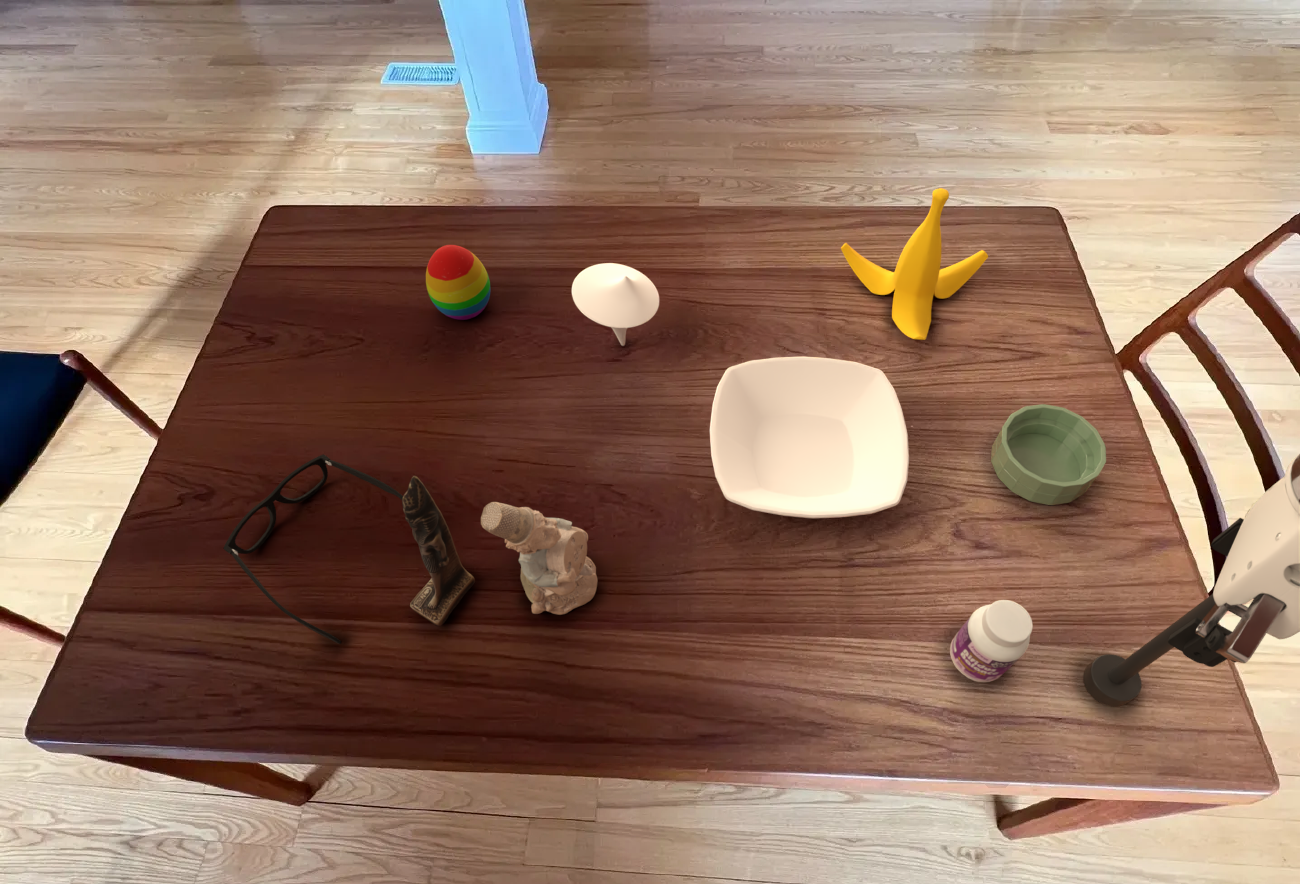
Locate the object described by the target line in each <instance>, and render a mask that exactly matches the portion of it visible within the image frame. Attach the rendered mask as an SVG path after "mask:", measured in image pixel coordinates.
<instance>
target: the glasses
mask: <svg viewBox="0 0 1300 884" xmlns="http://www.w3.org/2000/svg"><path fill="white" fill-rule="evenodd" d="M327 465H328V466H331V467H333V468H336V469H339V470H341V471H343V472H345V473H347V474H349V475H352V476H354V477H357V478H358V479H360V480H363V481H365V482H366V483H369V484H371V485H373V486H375V487H377V488H379V489H381V490H382V491H385V492H386V493H389V494H391V495H394V496H396V497H397V498H399V499H400V500H401V501H402V499H403V496H404V495H402V494H401V493H400V492H399V491H397V490H396V489H395V488H393V487H392V486H390V485H388V484H386V483H385V482H383V481H381V480H379V479H378V478H376V477H373V476H371V475H369V474H368V473H365V472H363V471H359V470H358V469H355V468H353V467H351V466H348V465H346V464H343V463H340V462H339V461H336V460H332V459H331V458H330V457H329V456H327V455H326V454H324V453H323V454H320V455H318V456H316V457H314V458H313V459H310V460H309V461H307V462H305V463H304V464H302V465H301V466H298V468H296V469H294V470H293V471H292V472H290V473H289V474H288V475H287V476H286V477H284V479H282V481H281V482H280V483H279V484H278V485H277V486H276V487H275V488H274V489H273V491H272V492H271V493H270V494H268V495H267V496H266V497H265V498H264V499H262V501H261V502H259V503H257V504H256V505H255V506H254V507H253V508H252V509H250V510H249V511H248V512H247V513H246V514H245V516H243V518H242V519H241V520H240V521H239V522H238V523H237V525H236V526H235V528H234V529H233V530H232V532H231V533H230V535H229V537H228V539H227V540H226V542H225V544H224V545H223V550H224V551H225V552H227V554H230V555H232V557H233V558H234V560H235V561H236V563H237V564H238V565H239V567H240V568H241V569H242V570H243V572H245V574H246V575H247V576H248V577H249V578H250V579H251V581H252V582H253V583H254V584H255V586H257V587H258V589H259V590H260V591H261V592H262V593H263V595H265V597H267V598H268V600H269V601H271V602H272V604H274V605H275V607H277V608H278V609H279V610H280V611H281V612H282V613H284V614H286V615H287V616H289V618H291V619H293V620H295V621H296V622H297V623H299V624H301V625H302V626H304V627H306V628H307V629H309V630H311V631H313V632H314V633H316V634H317V635H318V634H319V635H320V636H322V637H324V638H325V639H328V640H330V641H332V642H334V643H336V644H338V645H341V644H342V641H341V640H340V638H337V637H336V636H334V635H332V634H331V633H328V632H327V631H325V630H323V629H321V628H319V627H317V626H315V625H313V624H311V623H309V622H308V621H305V620H304V619H302V618H301V617H299V616H297V615H295V614H293V613H292V612H291V611H289V610H288V609H287V608H285V607H284V606H283V605H282V604H281V603H279V602H278V600H276V599H275V598H274V597H273V596H272V595H271V593H270V592H269V591H268V590H267V589H266V588H265V587H264V585H263V584H262V583H261V582H260V580H259V579H258V578H257V577H256V576H255V575H254V573H253V572H252V571H251V570H250V569H249V568H248V566H247V565H246V564H245V562H244V561H243V559H242V558H241V557H240V556H239V554H242V555H247V554H248V555H249V554H251V553H254V552H256V551H257V550H258V549H259V548H260V547H261V546H262V545H263V544H264V543H265V542H266V540H268V538H269V536H270V535H271V533H272V532H273V530H274V528H275V526H276V523H277V510H276V506H275V503H274V502H275V501H276V502H278V503H281V504H287V505H293V504H294V505H295V504H299V503H301V502H303V501H306V500H307V499H309V498H310V497H312V496H313V495H314V494H316V493H317V492H319V490H320V489H322V487H323V486H324V485H325V484H326V482H327V480H328V476H329V472H328V467H327ZM312 466H319V468H320V469H321V472H322V478H321V479H320V481H319V482H318V483H317V484H316V485H315V486H314V487H313V488H311V489H310V490H309V491H307V492H306V493H305V494H303V495H301V496H299V497H296V498H291V497H287V496H284V495H283V494H281V492H282V490H283V488H284V487H286V485H287V484H288V483H289V482H290V481H291V480H292V479H294V478H295V477H296V476H298V475H299V474H301V473H302V472H303V471H305V470H306V469H308V468H311V467H312ZM263 508H266V510H267V512H268V514H269V524H268V526H267V529H266V530H265V532H264V533H263V535H262V536H261V537H260V538H259V539H258V540H257V541H256V543H254V545H252V546H251V547H250V548H248V549H244V548H242V547H240V546H238V545H237V542H236V539H237V537H238V535H239V533H240V531H241V530H242V529H243V527H244V526H245V525H246V523H247V522H248V521H249V520H250V519H251V518H252V517H253V516H254V515H255V514H256V513H257V512H258V511H259V510H261V509H263Z"/></svg>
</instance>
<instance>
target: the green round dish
mask: <svg viewBox="0 0 1300 884" xmlns="http://www.w3.org/2000/svg"><path fill="white" fill-rule="evenodd" d="M1106 447H1107V446H1106V444H1105V441H1104V440H1103V438H1102V436H1101V435H1100V433H1099V431H1098V430H1097V428H1095V426H1094V425H1092V424H1091V423H1090V422H1089V421H1088V420H1087V419H1086V418H1084V417H1083V416H1082V415H1080V414H1078V413H1076V412H1074V411H1071V410H1070V409H1067V408H1065V407H1062V406H1057V405H1051V404H1045V403H1043V404H1042V403H1041V404H1034V405H1033V404H1032V405H1025V406H1023V407H1022V408H1020V409H1018V410H1016V411H1015V412H1013V413H1011V414H1009V416H1008V418H1007V419H1006V421H1005V422H1004V424H1003V425H1002V426H1001V429H1000V431H999V433H998V434H997V436H996V437H995V440H994V441H993V444H992V445H991V452H990V463H991V465H992V467H993V469H994V471H995V474H996V477H997V478H998V479H999V480H1000V481H1001V482H1002V483H1003V484H1004V485H1005V487H1007V489H1008V490H1009V491H1010V492H1011V493H1013V494H1015V495H1017V496H1019V497H1020V498H1023V499H1025V500H1026V501H1028V502H1032V503H1037V504H1043V505H1047V506H1055V505H1063V504H1069V503H1071V502H1074V501H1075V500H1076V499H1078V498H1080V497H1082V496H1084V494H1086V492H1087V491H1088V490H1089V488H1090V487H1091V486H1092V485H1093V483H1094V482H1095V481H1096V480H1097V478H1098V477H1099V475H1100V474H1101V472H1102V470H1103V469H1104V466H1105V465H1106V463H1107V448H1106Z"/></svg>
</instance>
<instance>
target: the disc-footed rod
mask: <svg viewBox="0 0 1300 884" xmlns="http://www.w3.org/2000/svg"><path fill="white" fill-rule="evenodd" d="M1215 604H1216V603H1215V600H1214V597H1213V593H1212V594H1210V595H1209V596H1207V597H1206V598H1205V599H1203V600H1202V601H1201V602H1200V603H1198V604H1197V605H1196V606H1194V607H1192V609H1190V610H1189V611H1188V612H1186V613H1185V614H1183V615H1182V616H1181V617H1180V618H1179V619H1177V620H1176V621H1174V622H1173V623H1172V624H1171V625H1169V626H1168V627H1166V628H1165V629H1164V630H1162V631H1161V632H1160V633H1159V634H1157V635H1156V636H1155V637H1153V638H1152V639H1151V640H1149V641H1148V642H1146V643H1145V644H1144V645H1142V646H1141V647H1140V648H1138V650H1135V652H1133V653H1132V654H1130V655H1129V656H1128V657H1126V658H1124V657H1122V656H1120V655H1117V654H1111V653H1108V654H1102V655H1099V656H1098V657H1097V658H1095V659H1094V660H1093V661H1091V662H1090V663H1089V664H1087V666H1086V667H1085V669H1084V670H1083V674H1082V682H1083V684H1084V687H1085V689H1086V691H1087V692H1088V694H1089V695H1090V696H1091V697H1092V698H1093V699H1094V700H1095V701H1097V702H1098V703H1100V704H1102V705H1104V706H1108V707H1111V708H1112V707H1113V708H1116V707H1121V706H1122V707H1123V706H1125V705H1126V704H1128V703H1129V702H1131V701H1132V700H1134V699H1136V698H1137V697H1138V696H1139V694H1141V693H1140V692H1141V690H1142V678H1141V675H1140V672H1141V671H1143V670H1144V669H1146V668H1147V667H1148V666H1150V665H1151V664H1152V663H1154V662H1156V661H1157V660H1158V659H1160V658H1161V657H1163V656H1164V655H1165V654H1167V653H1168V652H1170V651H1171V650H1173V649H1174V648H1175V647H1173V646H1171V645H1170V644H1169V643H1168V640H1169V637H1170V636H1171V635H1172V634H1173V633H1175V632H1176V631H1178V630H1179V629H1180V628H1182V627H1183V626H1185V625H1186V624H1188V623H1189V622H1191V621H1192V620H1193V619H1195V618H1196V617H1197V618H1201V619H1204V617H1205V616H1206V615H1207V614H1208V612H1209V611H1210V610H1211V609H1212V607H1213V606H1214V605H1215Z"/></svg>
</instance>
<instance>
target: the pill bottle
mask: <svg viewBox="0 0 1300 884" xmlns="http://www.w3.org/2000/svg"><path fill="white" fill-rule="evenodd" d="M1033 628H1034V627H1033V619H1032V616H1031V615H1030V613H1029V611H1027V609H1026V608H1025V607H1023V606H1022V605H1021V604H1019V603H1017V602H1015V601H1013V600H1009V599H999V600H995V601H994V602H992V603H990V604H984V605H982V606H980V607H978V608H977V609H976V610H974V611H973V612H972V613H971V615H970V616H969V617H968V619H967V620H966V621H965V622H964V624H963V625H962V626H961V627H960V629H959V630H958V631H957V632H956V633H955V635H954V637H953V638H952V640H951V643H950V646H949V652H950V653H949V654H950V659H951V661H952V664H953V665H954V667H955V668H956V669H957V670H958V672H959V673H960V674H962V675H963V676H965V677H966V678H967V679H969V680H971V681H974V682H978V683H990V682H993V681H996V680H998V679H1000V677H1002V676H1003V675H1004V674H1005V673H1006V672H1007V671H1008V670H1009V669H1010V668H1011V667H1012V666H1013V665H1014V664H1016V663H1017V662H1018V660H1020V659H1021V658H1023V656H1024V655H1025V653H1026V652H1027V651H1028V648H1029V645H1030V641H1031V634H1032V632H1033Z"/></svg>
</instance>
